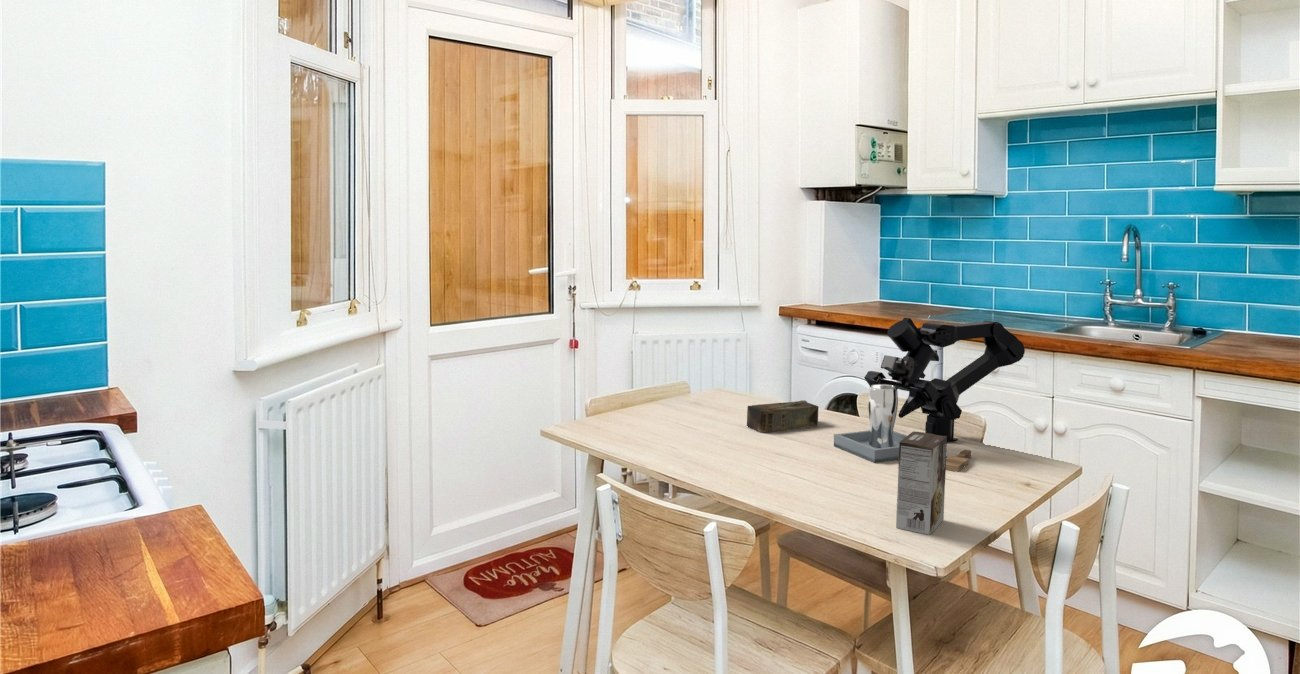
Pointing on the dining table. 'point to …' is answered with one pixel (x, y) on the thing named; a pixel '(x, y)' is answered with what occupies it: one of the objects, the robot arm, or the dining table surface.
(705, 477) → the dining table surface
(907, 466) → the coffee box
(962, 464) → the scraper paddle
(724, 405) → the dining table surface
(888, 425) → the silver metal cup
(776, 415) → the beverage carton
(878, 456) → the tray
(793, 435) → the dining table surface
